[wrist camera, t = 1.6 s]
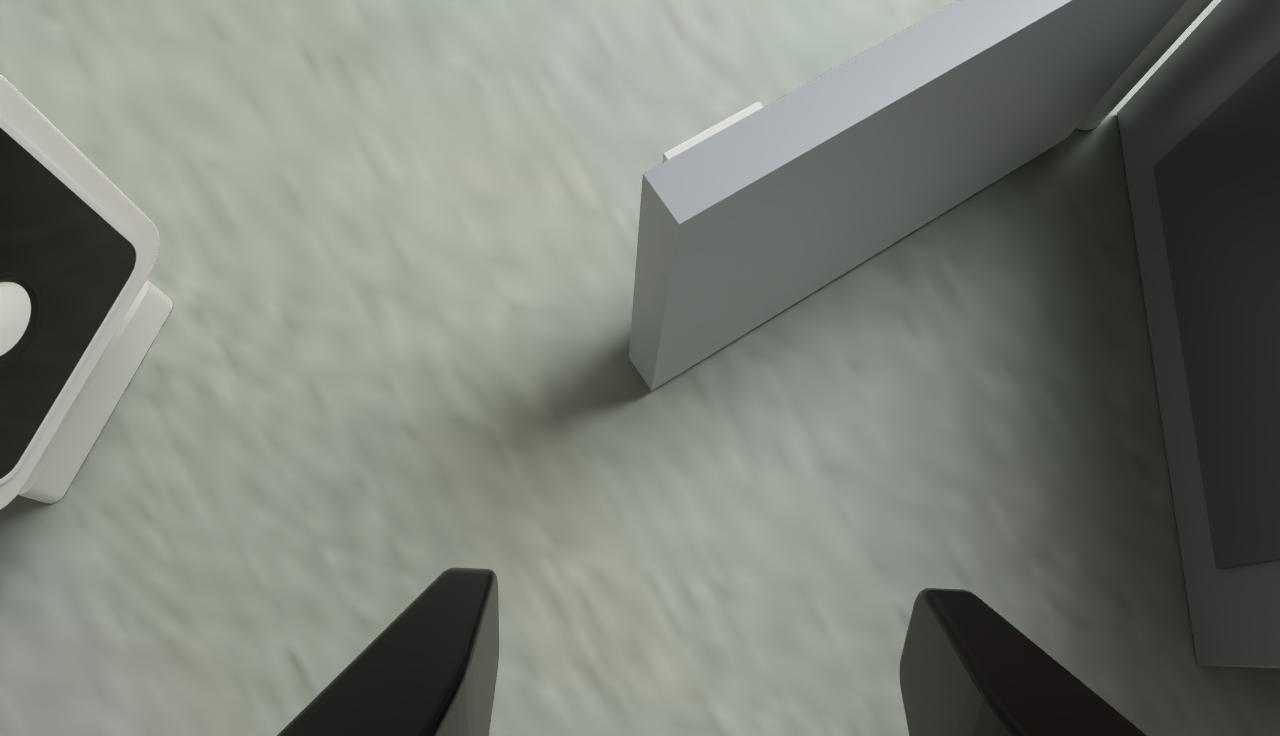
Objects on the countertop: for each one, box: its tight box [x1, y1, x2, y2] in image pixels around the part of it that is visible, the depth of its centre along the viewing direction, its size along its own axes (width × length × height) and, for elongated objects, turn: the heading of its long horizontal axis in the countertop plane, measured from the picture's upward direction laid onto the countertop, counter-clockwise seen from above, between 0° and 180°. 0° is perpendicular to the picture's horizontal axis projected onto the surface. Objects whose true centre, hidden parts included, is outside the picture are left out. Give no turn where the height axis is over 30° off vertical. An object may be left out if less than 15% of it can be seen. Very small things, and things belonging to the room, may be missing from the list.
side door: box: [629, 0, 1187, 391], centre depth 19 cm, size 13×2×9 cm, turn 123°
